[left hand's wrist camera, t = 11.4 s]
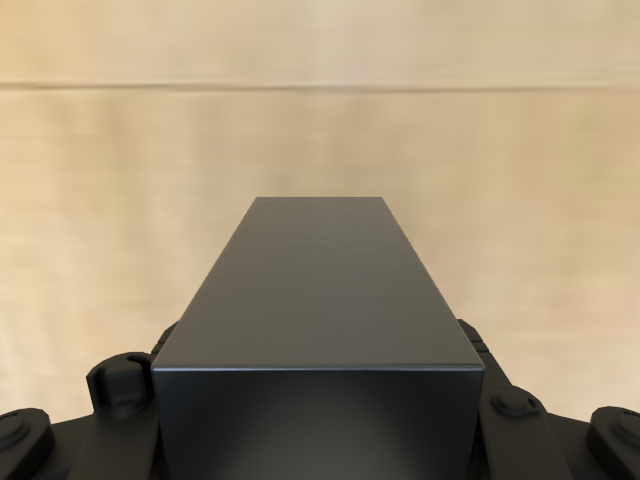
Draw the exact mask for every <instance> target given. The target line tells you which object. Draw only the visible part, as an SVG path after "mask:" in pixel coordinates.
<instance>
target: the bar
mask: <svg viewBox="0 0 640 480" xmlns="http://www.w3.org/2000/svg"><path fill="white" fill-rule="evenodd" d="M484 374H485V365H484V363H483V362H482V360H481V358H480V357H479V355H478V353H477V352H476V350H475V349H474V347H473V345H472V344H471V342H470V340H469V339H468V337H467V336H466V334H465V332H464V331H463V329H462V327H461V326H460V324H459V322H458V321H457V319H456V318H455V316H454V314H453V313H452V311H451V309H450V308H449V306H448V304H447V303H446V301H445V300H444V298H443V296H442V295H441V293H440V291H439V290H438V288H437V287H436V285H435V283H434V282H433V280H432V278H431V277H430V275H429V273H428V272H427V270H426V269H425V267H424V265H423V264H422V262H421V260H420V259H419V257H418V255H417V254H416V252H415V251H414V249H413V247H412V246H411V244H410V242H409V241H408V239H407V237H406V236H405V234H404V233H403V231H402V229H401V228H400V226H399V224H398V223H397V221H396V220H395V218H394V216H393V215H392V213H391V211H390V210H389V208H388V206H387V205H386V203H385V202H384V200H383V198H382V197H257V198H256V199H255V200H254V202H253V203H252V205H251V207H250V208H249V210H248V211H247V213H246V215H245V216H244V218H243V219H242V221H241V223H240V224H239V226H238V227H237V229H236V231H235V232H234V234H233V235H232V237H231V239H230V240H229V242H228V243H227V245H226V247H225V248H224V250H223V251H222V253H221V255H220V256H219V258H218V259H217V261H216V263H215V264H214V266H213V267H212V269H211V271H210V272H209V274H208V275H207V277H206V279H205V280H204V282H203V283H202V285H201V287H200V288H199V290H198V291H197V293H196V295H195V296H194V298H193V299H192V301H191V303H190V304H189V306H188V307H187V309H186V311H185V312H184V314H183V315H182V317H181V319H180V320H179V322H178V323H177V325H176V327H175V328H174V330H173V331H172V333H171V335H170V336H169V338H168V339H167V341H166V343H165V344H164V346H163V347H162V349H161V351H160V352H159V354H158V355H157V357H156V359H155V360H154V362H153V363H152V365H151V375H152V381H153V387H154V392H155V398H156V404H157V410H158V416H159V421H160V427H161V433H162V439H163V444H164V450H165V456H166V462H167V467H168V473H169V479H170V480H467V475H468V469H469V463H470V457H471V451H472V446H473V440H474V434H475V428H476V422H477V416H478V410H479V404H480V398H481V392H482V386H483V380H484Z"/></svg>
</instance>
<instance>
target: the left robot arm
mask: <svg viewBox="0 0 640 480" xmlns="http://www.w3.org/2000/svg"><path fill="white" fill-rule="evenodd" d="M457 321H458V322H459V324H460V326H461V327H462V329H463V331H464V332H465V334H466V336H467V337H468V339H469V340H470V342H471V344H472V345H473V347H474V349H475V350H476V352H477V353H478V355H479V357H480V358H481V360H482V362H483V363H484V365H485V374H484V380H483V386H482V392H481V398H480V404H479V410H478V416H477V422H476V428H475V434H474V440H473V446H472V451H471V457H470V463H469V469H468V475H467V480H640V413H637V412H634V411H631V410H628V409H625V408H620V407H612V406H607V407H601V408H598V409H597V410H596V411H595V412H593V413H592V417H591V420H590V423H588V422H584V421H579V420H575V419H571V418H566V417H562V416H558V415H555V414H551V413H548V412H547V411H546V409H545V408H544V406H543V405H542V403H541V402H540V401H539V400H538V399H537V398H536V397H534V396H533V395H532V394H531V393H529V392H527V391H525V390H523V389H521V388H519V387H517V386H513V385H512V384H511V383H510V381H509V380H508V378H507V376H506V375H505V373H504V372H503V370H502V369H501V367H500V366H499V364H498V363H497V361H496V360H495V358H494V357H493V355H492V354H491V353H489V349H488V348H487V346H486V345H485V343H483V340H482V339H481V337H480V335H479V334H478V332H477V331H476V329H474V328H473V327H472V326H470V325H469V324H468V323H466V322H465V321H463V320H462V319H457ZM178 322H179V321H177V322H176V323H175V324H173V325H172V326H171V327H169V328H168V329H166V330H165V331H164V333H163V334H162V336H161V337H160V339H159V341H158V344H156V345H155V347H154V348H153V350H152V351H151V354H148V353H144V352H128V353H123V354H119V355H115V356H113V357H111V358H108V359H106V360H104V361H102V362H101V363H99V364H98V365H96V366H95V367H94V368H92V370H91V371H90V372H89V373H88V375H87V376H86V380H87V384H88V388H89V392H90V396H91V400H92V404H93V409H94V412H93V414H91V415H88V416H85V417H81V418H77V419H73V420H68V421H64V422H60V423H55V424H51V422H50V419H49V415H48V414H47V413H46V412H44V411H43V410H41V409H36V408H26V409H18V410H15V411H12V412H8V413H6V414H3V415H0V480H170V479H169V473H168V467H167V462H166V456H165V450H164V444H163V439H162V433H161V427H160V421H159V416H158V410H157V404H156V398H155V392H154V387H153V381H152V375H151V365H152V363H153V362H154V360H155V359H156V357H157V355H158V354H159V352H160V351H161V349H162V347H163V346H164V344H165V343H166V341H167V339H168V338H169V336H170V335H171V333H172V331H173V330H174V328H175V327H176V325H177V323H178Z"/></svg>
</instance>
